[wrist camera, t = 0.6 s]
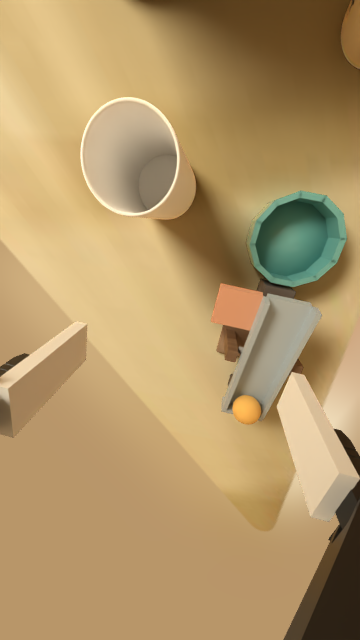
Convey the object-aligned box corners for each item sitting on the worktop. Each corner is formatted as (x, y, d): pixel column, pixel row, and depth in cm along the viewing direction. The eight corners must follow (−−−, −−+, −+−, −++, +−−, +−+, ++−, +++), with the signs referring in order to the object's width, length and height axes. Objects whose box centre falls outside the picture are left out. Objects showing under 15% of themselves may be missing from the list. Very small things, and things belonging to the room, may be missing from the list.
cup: (202, 160, 33) (191, 109, 18) (188, 225, 36) (168, 226, 21) (142, 146, 34) (83, 86, 19) (133, 212, 37) (76, 204, 22)
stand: (237, 273, 38) (242, 286, 30) (311, 289, 37) (334, 305, 30) (208, 378, 45) (206, 409, 37) (270, 393, 44) (281, 427, 37)
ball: (236, 386, 37) (236, 410, 34) (263, 393, 37) (266, 417, 34) (229, 402, 40) (229, 425, 36) (255, 408, 39) (256, 432, 36)
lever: (221, 279, 31) (219, 292, 28) (314, 299, 30) (323, 315, 27) (192, 386, 42) (189, 404, 39) (260, 403, 41) (263, 422, 38)
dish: (260, 188, 33) (266, 184, 29) (344, 204, 33) (362, 202, 29) (238, 270, 37) (240, 276, 34) (312, 286, 37) (323, 293, 33)
